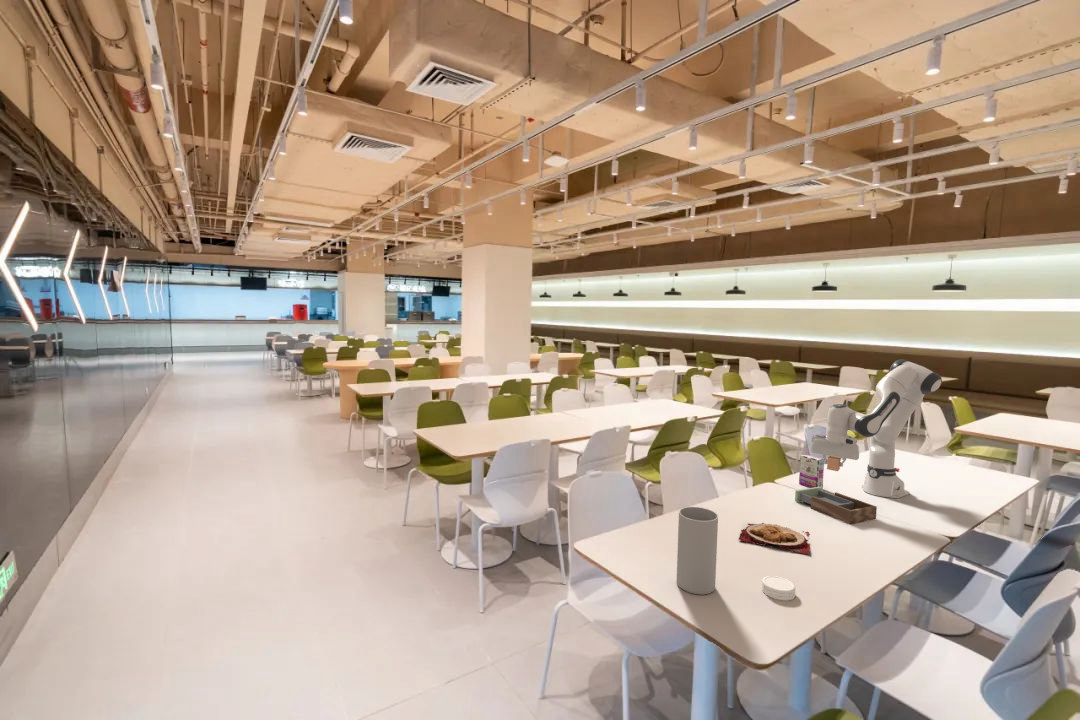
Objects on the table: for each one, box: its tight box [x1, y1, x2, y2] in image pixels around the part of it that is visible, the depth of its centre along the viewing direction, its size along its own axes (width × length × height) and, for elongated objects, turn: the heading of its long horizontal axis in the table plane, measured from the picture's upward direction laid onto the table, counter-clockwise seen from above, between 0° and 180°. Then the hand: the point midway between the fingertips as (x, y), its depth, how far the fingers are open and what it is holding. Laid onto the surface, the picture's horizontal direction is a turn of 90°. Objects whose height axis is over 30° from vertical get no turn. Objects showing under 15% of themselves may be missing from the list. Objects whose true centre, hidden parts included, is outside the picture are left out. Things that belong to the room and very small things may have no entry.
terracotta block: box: [826, 455, 842, 472], centre depth 244 cm, size 5×5×6 cm
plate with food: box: [738, 522, 811, 555], centre depth 206 cm, size 24×26×4 cm
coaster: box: [761, 575, 796, 601], centre depth 164 cm, size 10×10×4 cm
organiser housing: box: [810, 491, 878, 525], centre depth 232 cm, size 17×20×6 cm
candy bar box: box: [798, 454, 825, 490], centre depth 271 cm, size 11×5×16 cm, turn 25°
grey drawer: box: [794, 487, 854, 510], centre depth 241 cm, size 17×20×6 cm
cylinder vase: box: [676, 506, 719, 596], centre depth 167 cm, size 12×12×25 cm
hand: (833, 465), depth 244 cm, fingers closed on terracotta block, 5 cm apart
